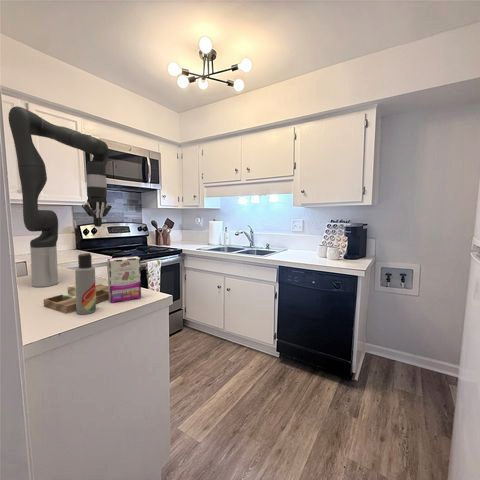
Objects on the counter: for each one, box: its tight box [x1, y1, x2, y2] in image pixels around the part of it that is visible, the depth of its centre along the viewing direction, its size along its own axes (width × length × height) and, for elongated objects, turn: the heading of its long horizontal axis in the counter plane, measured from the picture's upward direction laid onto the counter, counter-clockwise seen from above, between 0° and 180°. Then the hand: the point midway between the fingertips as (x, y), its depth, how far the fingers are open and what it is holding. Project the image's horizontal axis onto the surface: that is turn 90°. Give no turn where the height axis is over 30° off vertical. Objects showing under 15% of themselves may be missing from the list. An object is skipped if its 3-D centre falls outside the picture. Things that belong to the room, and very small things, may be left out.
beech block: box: [66, 283, 76, 296], centre depth 97 cm, size 5×5×3 cm
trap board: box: [43, 283, 109, 314], centre depth 97 cm, size 13×22×2 cm, turn 155°
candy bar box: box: [107, 256, 142, 304], centre depth 99 cm, size 11×5×16 cm, turn 126°
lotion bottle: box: [74, 252, 97, 315], centre depth 86 cm, size 6×6×20 cm
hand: (97, 226), depth 112 cm, fingers closed
